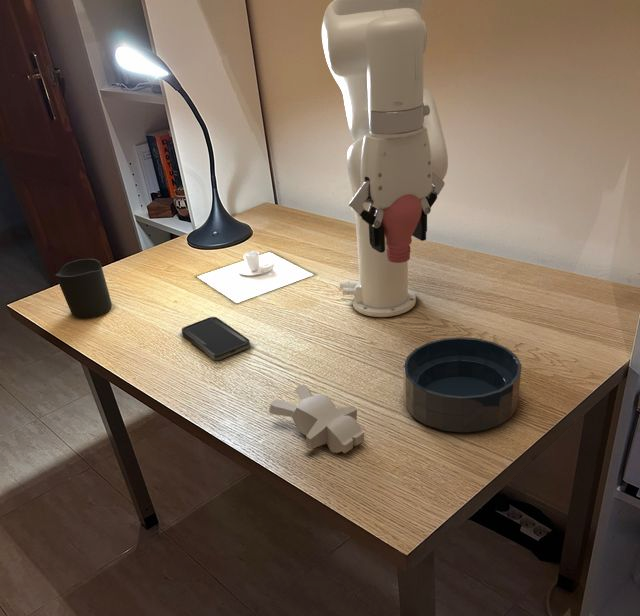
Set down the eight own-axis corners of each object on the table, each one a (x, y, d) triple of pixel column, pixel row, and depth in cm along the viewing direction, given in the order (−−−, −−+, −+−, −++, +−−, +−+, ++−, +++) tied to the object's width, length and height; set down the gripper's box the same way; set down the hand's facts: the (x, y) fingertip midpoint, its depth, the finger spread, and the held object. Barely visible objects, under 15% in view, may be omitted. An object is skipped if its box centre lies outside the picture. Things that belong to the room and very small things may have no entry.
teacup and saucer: (280, 270, 146) (277, 253, 143) (250, 281, 143) (247, 264, 140) (261, 260, 152) (258, 244, 149) (232, 270, 149) (229, 254, 146)
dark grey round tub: (394, 428, 94) (393, 392, 90) (415, 368, 106) (415, 334, 103) (513, 440, 89) (517, 403, 85) (520, 376, 102) (524, 341, 98)
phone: (214, 315, 127) (251, 341, 117) (215, 320, 128) (252, 346, 118) (178, 329, 124) (214, 356, 114) (180, 334, 125) (215, 362, 114)
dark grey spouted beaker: (122, 307, 138) (108, 264, 132) (84, 324, 133) (68, 280, 127) (100, 297, 143) (86, 255, 137) (62, 314, 138) (46, 271, 132)
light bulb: (409, 275, 97) (409, 196, 90) (368, 268, 100) (365, 191, 93) (428, 257, 101) (429, 180, 94) (389, 251, 105) (387, 177, 98)
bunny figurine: (330, 446, 85) (260, 396, 94) (330, 473, 89) (263, 422, 97) (378, 415, 90) (307, 370, 98) (376, 441, 93) (308, 395, 102)
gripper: (433, 105, 94) (431, 224, 104) (328, 128, 88) (338, 250, 99) (463, 113, 88) (458, 237, 99) (354, 137, 83) (361, 265, 94)
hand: (398, 243), depth 99 cm, fingers closed on light bulb, 6 cm apart
